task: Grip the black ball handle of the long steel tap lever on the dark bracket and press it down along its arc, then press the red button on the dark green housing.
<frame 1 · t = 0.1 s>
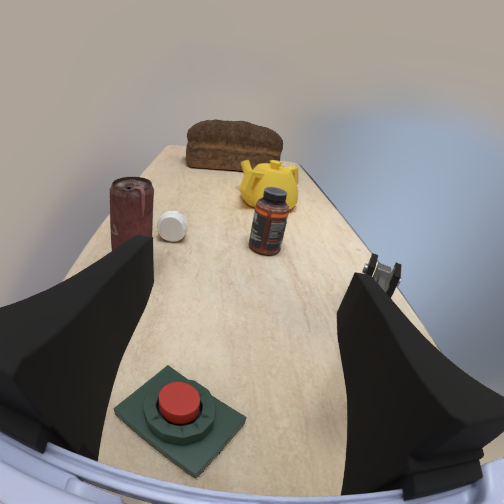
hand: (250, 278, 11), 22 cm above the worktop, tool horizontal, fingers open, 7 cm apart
button box: (179, 421, 27), on the worktop
tap lever: (377, 309, 34), point 8 cm above the worktop, hinge at 8.0°
white short cylinder: (172, 235, 58), on the worktop
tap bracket: (366, 308, 48), on the worktop
supplement bottle: (263, 248, 60), on the worktop
can: (133, 271, 47), on the worktop
button: (179, 403, 25), point 3 cm above the worktop, slide at 0.1 cm
bread: (231, 166, 105), on the worktop
teapot: (261, 200, 81), on the worktop
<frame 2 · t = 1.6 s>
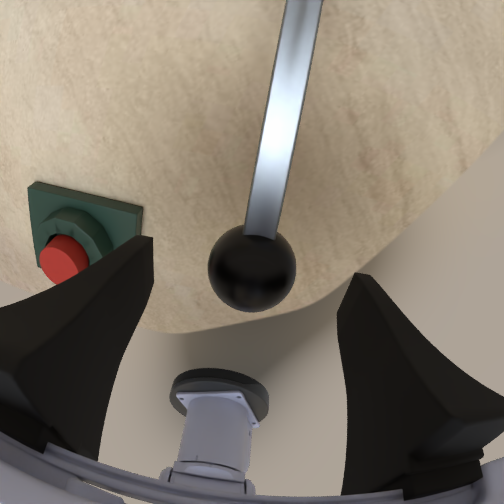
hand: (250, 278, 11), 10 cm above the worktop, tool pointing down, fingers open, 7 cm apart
button box: (84, 236, 23), on the worktop
button: (63, 261, 20), point 3 cm above the worktop, slide at 0.1 cm
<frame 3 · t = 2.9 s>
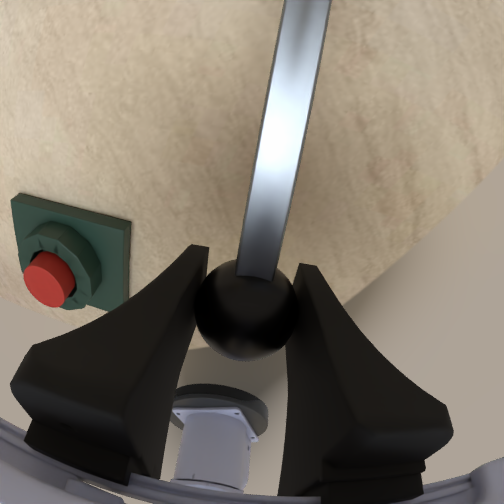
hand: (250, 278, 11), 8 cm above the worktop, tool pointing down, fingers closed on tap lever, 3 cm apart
button box: (71, 251, 21), on the worktop
button: (49, 279, 19), point 3 cm above the worktop, slide at 0.1 cm
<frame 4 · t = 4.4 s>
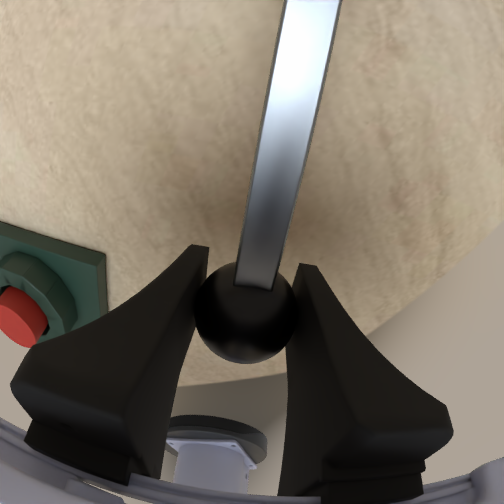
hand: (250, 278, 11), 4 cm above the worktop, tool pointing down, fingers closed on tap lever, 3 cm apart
button box: (45, 282, 18), on the worktop
button: (19, 317, 15), point 3 cm above the worktop, slide at 0.1 cm
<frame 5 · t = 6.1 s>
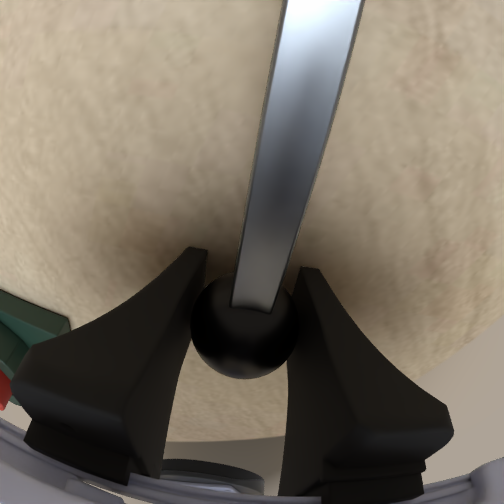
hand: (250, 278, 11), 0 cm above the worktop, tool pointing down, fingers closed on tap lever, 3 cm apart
button box: (11, 336, 14), on the worktop
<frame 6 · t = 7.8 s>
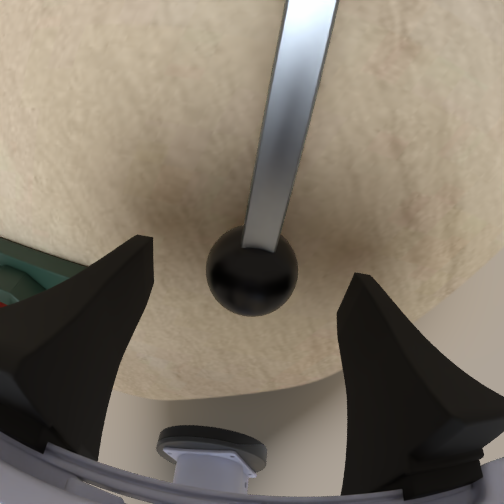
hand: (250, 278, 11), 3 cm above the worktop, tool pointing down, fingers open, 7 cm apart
button box: (35, 295, 17), on the worktop
button: (9, 333, 14), point 3 cm above the worktop, slide at 0.1 cm
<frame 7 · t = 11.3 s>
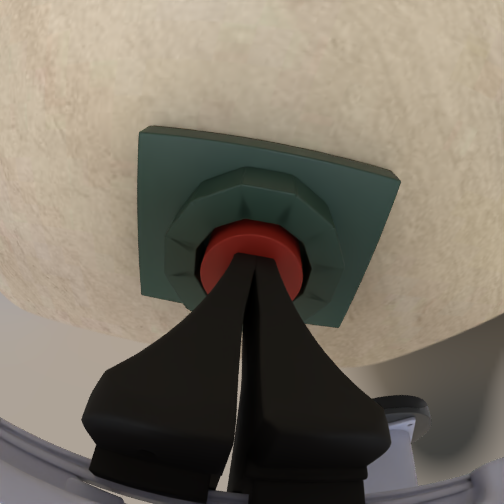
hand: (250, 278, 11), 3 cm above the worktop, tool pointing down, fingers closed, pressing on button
button box: (256, 230, 14), on the worktop
button: (252, 264, 12), point 3 cm above the worktop, slide at -0.8 cm, touching gripper
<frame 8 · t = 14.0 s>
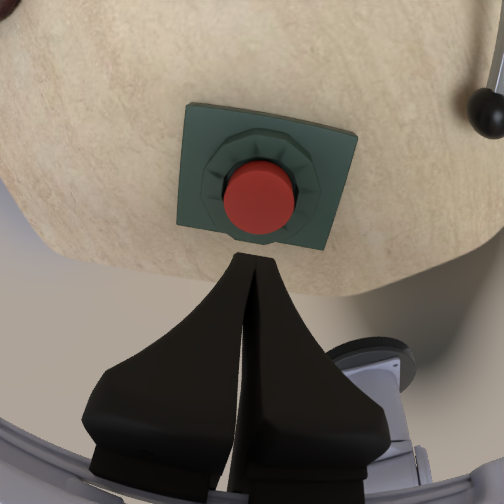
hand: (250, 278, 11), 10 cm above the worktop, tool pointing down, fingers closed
button box: (261, 174, 20), on the worktop
button: (259, 197, 17), point 3 cm above the worktop, slide at 0.1 cm
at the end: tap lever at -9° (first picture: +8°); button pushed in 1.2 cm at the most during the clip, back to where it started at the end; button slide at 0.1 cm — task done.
